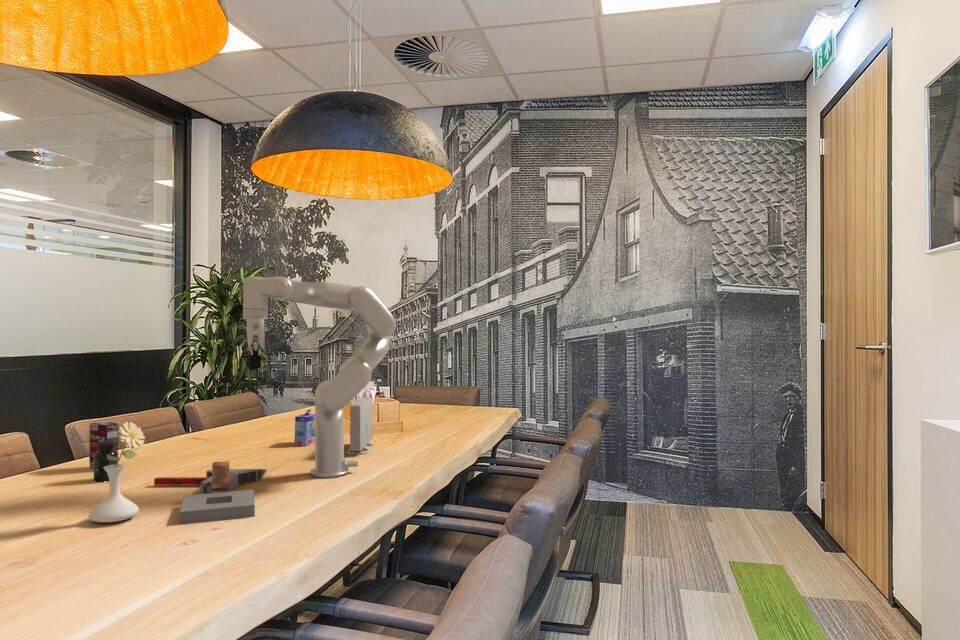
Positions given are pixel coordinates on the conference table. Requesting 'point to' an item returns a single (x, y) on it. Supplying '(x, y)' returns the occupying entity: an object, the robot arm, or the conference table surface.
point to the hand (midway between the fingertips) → (254, 367)
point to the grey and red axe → (206, 482)
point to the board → (217, 506)
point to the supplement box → (102, 437)
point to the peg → (220, 477)
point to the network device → (361, 426)
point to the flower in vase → (115, 503)
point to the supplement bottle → (103, 460)
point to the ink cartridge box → (305, 429)
